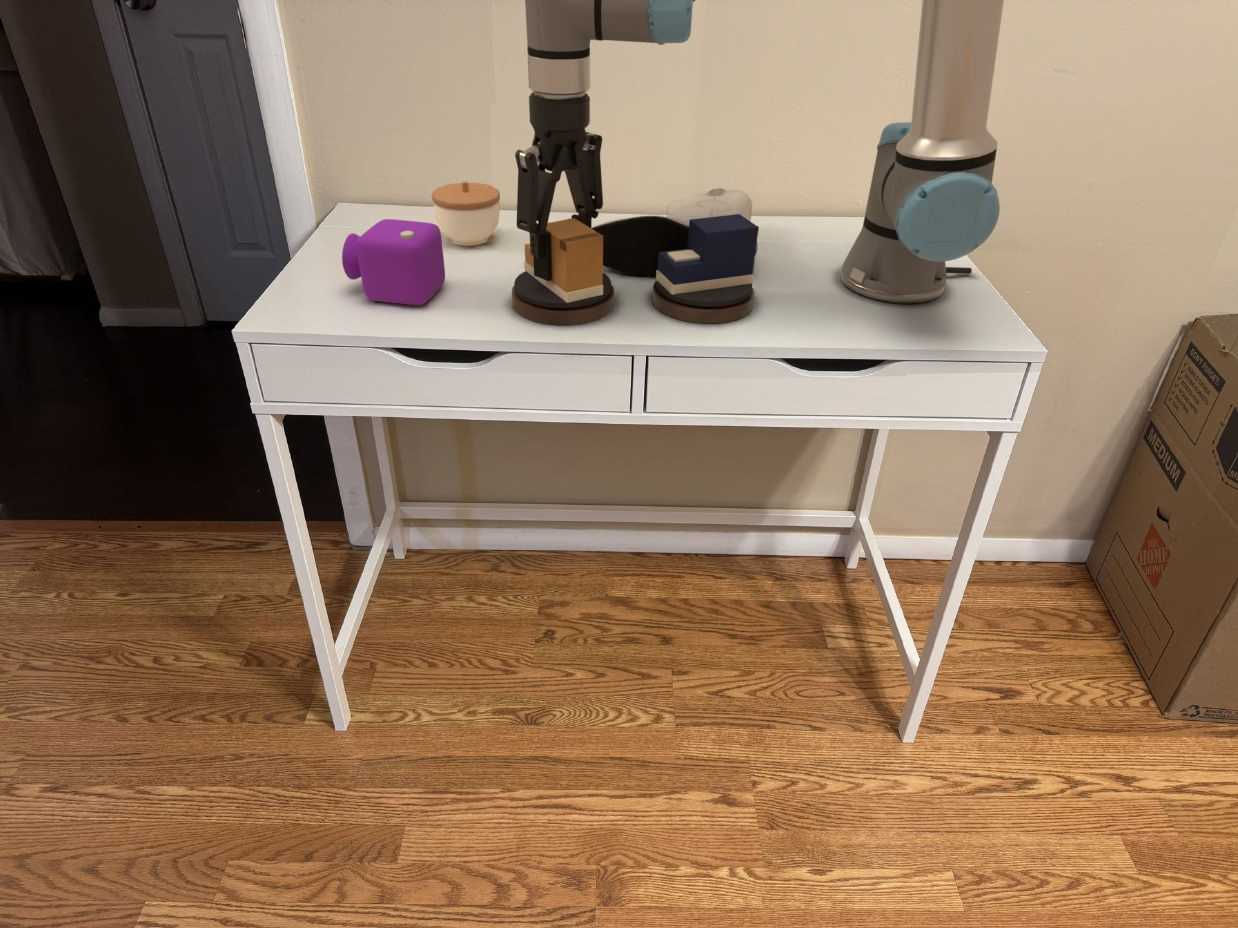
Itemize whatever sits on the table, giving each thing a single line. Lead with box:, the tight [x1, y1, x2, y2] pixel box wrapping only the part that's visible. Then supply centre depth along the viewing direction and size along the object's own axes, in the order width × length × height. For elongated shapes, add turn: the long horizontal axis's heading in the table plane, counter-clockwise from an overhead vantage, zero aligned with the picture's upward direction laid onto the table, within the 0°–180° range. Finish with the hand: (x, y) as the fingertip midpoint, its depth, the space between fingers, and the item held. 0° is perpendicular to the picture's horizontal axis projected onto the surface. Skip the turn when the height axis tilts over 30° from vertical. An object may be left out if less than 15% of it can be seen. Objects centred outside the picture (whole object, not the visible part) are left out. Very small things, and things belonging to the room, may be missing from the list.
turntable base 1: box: [511, 285, 615, 326], centre depth 118 cm, size 14×14×2 cm
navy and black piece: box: [655, 214, 760, 307], centre depth 116 cm, size 14×14×9 cm
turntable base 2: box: [652, 280, 755, 325], centre depth 119 cm, size 14×14×2 cm
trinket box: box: [431, 180, 501, 247], centre depth 135 cm, size 11×11×9 cm
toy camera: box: [341, 218, 446, 306], centre depth 117 cm, size 11×14×10 cm
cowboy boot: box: [591, 187, 759, 278], centre depth 134 cm, size 10×28×25 cm
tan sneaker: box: [513, 218, 613, 308], centre depth 114 cm, size 14×14×9 cm
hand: (562, 269), depth 116 cm, fingers closed on tan sneaker, 7 cm apart
